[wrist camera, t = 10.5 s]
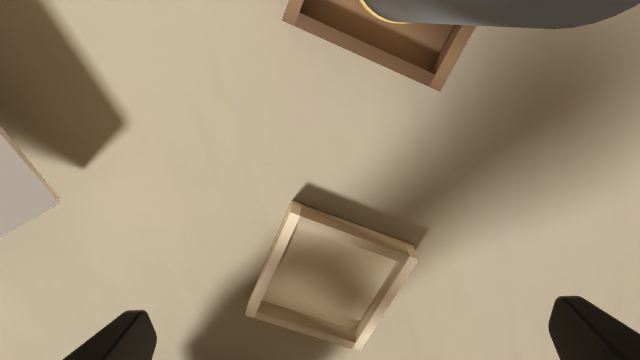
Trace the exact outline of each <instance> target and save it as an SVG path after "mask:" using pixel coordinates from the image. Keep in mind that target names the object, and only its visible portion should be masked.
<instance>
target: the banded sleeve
mask: <svg viewBox="0 0 640 360" xmlns="http://www.w3.org/2000/svg"><path fill="white" fill-rule="evenodd" d="M358 2H359V3H360V5H361V6H362V7H363V8H364V9H365V10H366V11H367V12H368V13H369V14H370V15H372V16H373V17H375V18H377V19H378V20H381V21H384V22H389V23H401V24H404V23H429V24H452V25H475V26H498V27H521V28H543V29H560V28H572V27H578V26H582V25H587V24H592V23H595V22H598V21H601V20H604V19H607V18H610V17H613V16H615V15H617V14H619V13H621V12H624V11H626V10H628V9H630V8H632V7H634V6H636V5H637V4H639V3H640V0H358Z"/></svg>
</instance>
